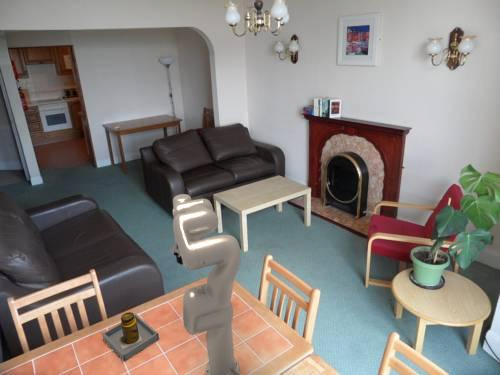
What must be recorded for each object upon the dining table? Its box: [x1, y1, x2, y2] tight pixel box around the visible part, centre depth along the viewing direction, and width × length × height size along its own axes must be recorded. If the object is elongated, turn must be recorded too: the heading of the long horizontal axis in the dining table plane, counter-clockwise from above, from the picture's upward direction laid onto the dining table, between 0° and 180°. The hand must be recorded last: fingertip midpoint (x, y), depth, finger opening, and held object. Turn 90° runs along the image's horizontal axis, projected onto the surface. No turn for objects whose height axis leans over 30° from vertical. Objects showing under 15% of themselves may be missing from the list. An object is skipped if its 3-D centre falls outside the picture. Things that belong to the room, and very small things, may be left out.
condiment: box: [117, 311, 142, 349], centre depth 154 cm, size 7×8×12 cm
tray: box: [101, 314, 160, 362], centre depth 157 cm, size 18×16×3 cm
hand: (189, 258), depth 161 cm, fingers open, 9 cm apart
